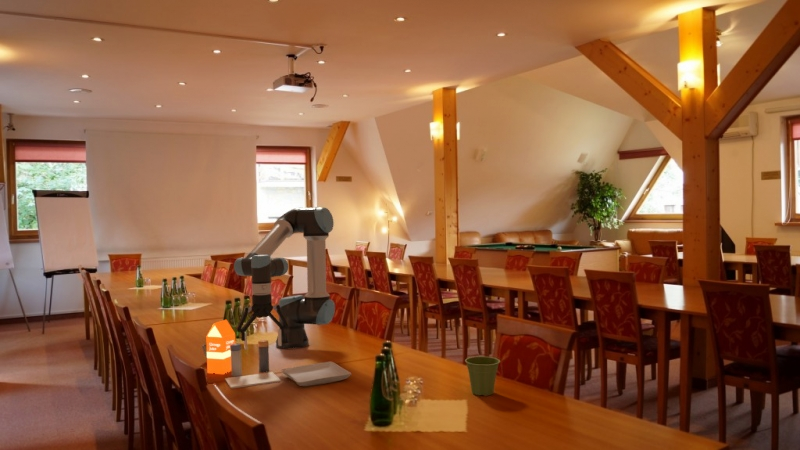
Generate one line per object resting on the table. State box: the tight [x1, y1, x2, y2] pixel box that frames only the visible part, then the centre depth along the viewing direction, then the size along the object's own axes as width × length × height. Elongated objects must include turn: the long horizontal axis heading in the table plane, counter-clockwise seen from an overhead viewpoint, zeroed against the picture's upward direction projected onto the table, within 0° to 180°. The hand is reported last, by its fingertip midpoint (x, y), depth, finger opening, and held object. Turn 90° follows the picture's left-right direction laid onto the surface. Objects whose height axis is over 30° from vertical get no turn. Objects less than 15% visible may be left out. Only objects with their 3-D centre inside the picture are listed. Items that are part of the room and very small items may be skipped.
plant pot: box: [464, 355, 501, 397], centre depth 213 cm, size 12×12×11 cm
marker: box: [257, 339, 270, 373], centre depth 249 cm, size 4×4×12 cm
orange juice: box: [205, 319, 236, 375], centre depth 251 cm, size 8×9×20 cm
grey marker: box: [230, 343, 243, 377], centre depth 243 cm, size 4×4×12 cm
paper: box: [224, 371, 281, 390], centre depth 235 cm, size 18×13×1 cm
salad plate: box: [280, 361, 352, 387], centre depth 236 cm, size 21×21×3 cm
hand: (262, 347), depth 248 cm, fingers open, 13 cm apart
